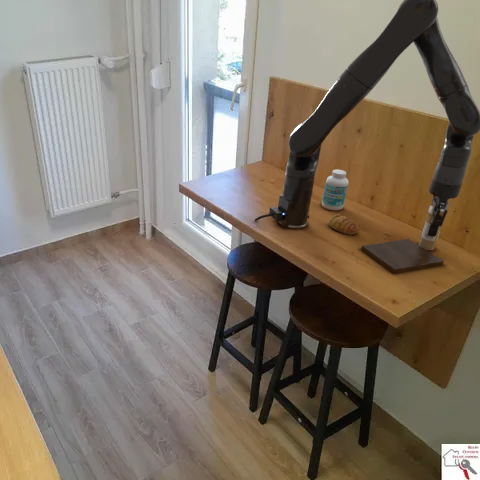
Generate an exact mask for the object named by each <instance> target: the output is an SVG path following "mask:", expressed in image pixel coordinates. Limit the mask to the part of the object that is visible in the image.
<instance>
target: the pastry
mask: <svg viewBox="0 0 480 480" xmlns="http://www.w3.org/2000/svg"><path fill="white" fill-rule="evenodd" d="M328 225H329V226H330V228H332V229H333V230H335V231H337V232H340V233H342V234H344V235H355V234H357V233H358V232H359V231H360V230H359V227H358V226H357V224H356V223H355V222H354V221H353V220H352V219H351V218H349V217H347V216H345V215H344V216H342V215H341V214H335V215H333V216H332V217H331V218H330V220H329V221H328Z"/></svg>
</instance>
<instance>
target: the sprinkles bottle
mask: <svg viewBox="0 0 480 480" xmlns="http://www.w3.org/2000/svg"><path fill="white" fill-rule="evenodd" d="M432 208H433V206H432V205H431V204H430V206H429V207H428V210H427V211H428V212H427V216H426V219H425V223H424V226H423V230H422V232H421V236H420V240H419V242H418V245H419V246H421V247H422V248H424V249H426V250H427V251H434V250H435V248H436V244H437V241H438V239H439V237H440V232H441V229H442V226H439V228H438V231H437V234H436V236H435V237H433V236H428V231H429V227H430V224H431V223H430V222H431V220H432V216H431V212H432ZM435 213H436V212H435V211H434V214H435ZM436 221H439V220H436Z"/></svg>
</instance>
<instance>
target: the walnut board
mask: <svg viewBox="0 0 480 480" xmlns="http://www.w3.org/2000/svg"><path fill="white" fill-rule="evenodd" d="M360 250H361V251H362V252H363V253H365V254H366V255H367V256H369V257H370V258H371V259H373V260H374V261H375V262H377V263H378V264H380V265H381V266H382V267H384V268H385V269H386V270H388V272H390V273H392V274H393V275H395V274H400V273H407V272H412V271H417V270H418V271H419V270H423V269H429V268H435V267H441V266H444V262H445V260H443V259H442V258H440V257H438V256H437V255H435V254H434V253H432V252H431V251H430V250H426V249H424V248H422V247H421V246H419V243H416V242H414V241H413V240H411V239H410V238H403V239H398V240H391V241H385V242H384V241H383V242H377V243H372V244H371V243H370V244H366V245H365V244H364V245H361V249H360Z"/></svg>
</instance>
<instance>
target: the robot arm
mask: <svg viewBox="0 0 480 480" xmlns="http://www.w3.org/2000/svg"><path fill="white" fill-rule="evenodd" d="M438 15H439V4H438V1H437V0H403V1H401V3H400V5H399V7H398V8H397V11H396V12H395V14H394V16H392V18H391V20H390V21H389V23H388V24H387V25H386V26H385V28H384V29H383V31H382V32H381V33H380V34H379V35H378V37H377V38H376V39H375V40H374V41H373V42H372V43H371V44H370V45H368V47H366V48H365V49H364V50H363V51H362V52H361V53H360V54H359V55H358V56H357V57H356V58H355V59H354V60H353V61H352V62H351V63H350V64H349V65H348V66H347V67H346V68H345V69H344V70H343V72H342V73H341V74H340V75H339V77H338V78H337V79H336V80H335V82H334V83H333V84H332V85H331V87H330V88H329V90H328V91H327V93H325V96H324V97H323V99H322V100H321V102H320V104H319V105H318V107H317V108H316V109H315V111H314V112H313V113H312V114H311V115H310V116H309V117H308V118H307V119H306V120H305V121H304V122H302V123H300V124H299V125H297V126H296V127H295V128H294V129H293V131H292V132H291V134H290V135H289V139H288V149H289V154H288V159H287V163H286V168H285V172H284V181H283V186H282V194H279V197H278V204H277V206H271V207H270V206H269V212H268V213H266V214H263V215H260V216H257V217H256V218H254V221H255V222H257V221H260V220H261V219H265V218H268V217H270V218H271V219H273V220H274V221H275V222H277V223H278V224H279V225H280V226H282V227H283V228H284V229H291V230H300V229H304V228H306V227H307V226H308V220H310V215H309V213H310V209H311V208H310V207H311V202H312V197H313V191H314V184H315V179H316V174H317V171H318V170H317V169H318V166H319V159H320V155H321V150H322V144H323V142H324V141H325V140H326V138H327V137H328V136H329V135H330V133H331V132H332V131H333V130H334V128H335V127H336V126H337V125H338V124H339V123H340V122H341V121H343V120H344V119H345V118H346V117H347V116H348V115H349V114H350V113H351V112H352V111H353V110H354V109H355V108H357V106H358V105H359V104H361V102H363V100H364V99H365V98H366V97H367V96H368V95H370V93H371V91H373V89H374V88H375V87H376V86H377V84H378V83H380V81H381V80H382V79H383V77H384V76H385V75H386V74H387V73H388V71H389V70H390V68H391V67H392V66H393V64H394V63H395V62H396V60H397V59H398V58H399V57H400V56H401V55H402V54H403V52H405V50H406V49H408V47H409V46H411V44H414V46H415V48H416V49H417V52H418V53H419V55H420V58H421V61H422V63H423V66H424V69H425V71H426V73H427V76H428V79H429V81H430V83H431V87H432V88H433V90H434V92H435V95H436V97H437V99H438V101H439V102H440V104H441V105H442V108H443V109H444V112H445V114H446V117H447V119H448V124H447V128H446V134H445V139H444V144H443V147H442V149H441V152H440V156H439V159H438V162H437V164H436V166H435V169H434V172H433V175H432V178H431V182H430V185H429V189H428V192H429V193H430V194H431V195H432V196H433V197H432V199H431V203H430V206H431V205H432V206H433V208H432V212H431V216H432V220H431V222H430V223H431V224H430V227H429V231H428V236H433V237H435V236H436V234H437V231H438V228H439V226H441V227H442V226H443V223H444V221H445V218H446V215H447V214H448V209H449V206H450V203H449V200H450V199H456V198H458V197H459V195H460V192H461V188H462V185H463V183H464V179H465V177H466V173H467V167H468V164H469V161H470V158H471V155H472V151H473V150H472V149H473V147H472V144H473V140H474V136H476V135H477V134H478V133H479V132H480V109H479V108H478V105H477V104H476V102H475V99H474V98H473V96H472V94H471V92H470V89H469V86H468V82H467V81H466V79H465V76H464V74H463V72H462V70H461V68H460V66H459V64H458V62H457V60H456V58H455V57H454V55H453V53H452V52H451V50H450V48H449V46H448V44H447V43H446V40H445V38H444V35H443V33H442V30H441V26H440V23H439V19H438ZM434 211H435V212H436V213H435V214H434ZM436 220H439V221H436Z"/></svg>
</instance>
